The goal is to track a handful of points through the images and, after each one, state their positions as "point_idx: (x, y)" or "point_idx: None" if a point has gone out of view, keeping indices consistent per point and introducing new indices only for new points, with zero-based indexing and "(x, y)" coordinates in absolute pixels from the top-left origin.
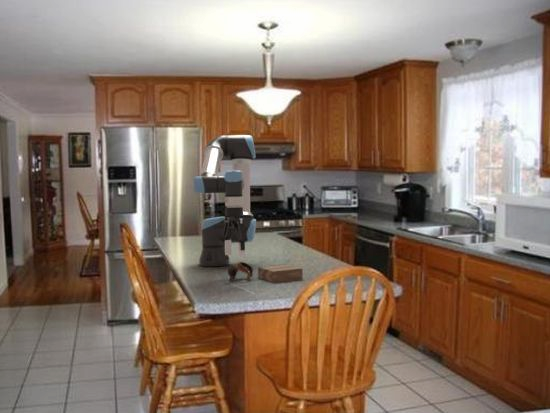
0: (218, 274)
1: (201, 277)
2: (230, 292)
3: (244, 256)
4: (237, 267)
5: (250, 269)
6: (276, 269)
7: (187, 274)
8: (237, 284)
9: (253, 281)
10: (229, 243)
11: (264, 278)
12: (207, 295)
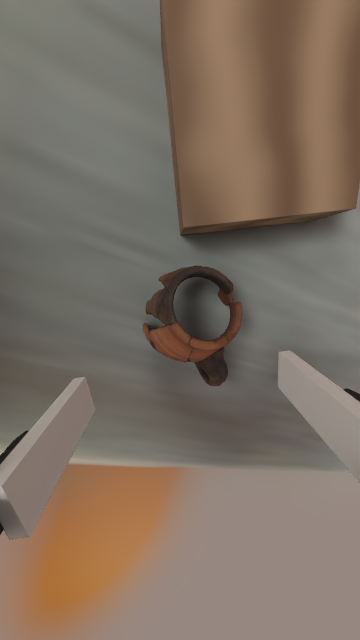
0: (45, 356)
1: None
2: None
3: (294, 358)
4: (215, 351)
5: (193, 276)
6: (310, 159)
7: None
8: (265, 349)
9: (246, 283)
10: (39, 460)
11: (238, 227)
12: None
